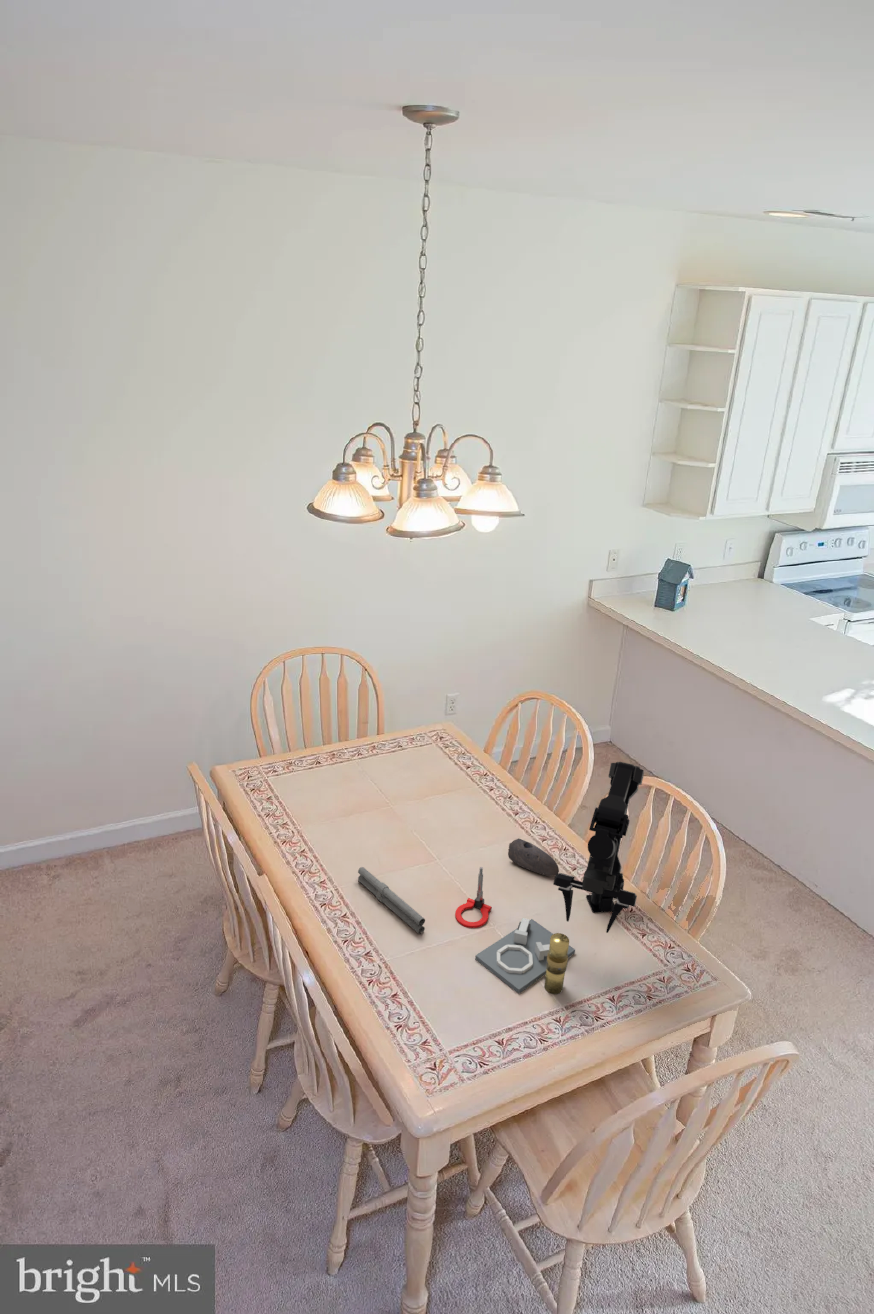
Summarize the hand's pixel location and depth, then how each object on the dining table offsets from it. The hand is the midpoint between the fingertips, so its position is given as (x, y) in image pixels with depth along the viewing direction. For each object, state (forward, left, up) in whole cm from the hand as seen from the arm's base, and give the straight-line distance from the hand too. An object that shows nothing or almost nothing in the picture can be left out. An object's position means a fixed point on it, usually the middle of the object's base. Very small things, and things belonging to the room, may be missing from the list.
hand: (587, 927), depth 201 cm
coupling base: (-5, -12, -13) cm, 18 cm away
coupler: (+5, -8, -13) cm, 16 cm away
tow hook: (-21, -22, -13) cm, 33 cm away
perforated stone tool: (-38, -2, -13) cm, 40 cm away
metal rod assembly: (-26, -43, -13) cm, 52 cm away
